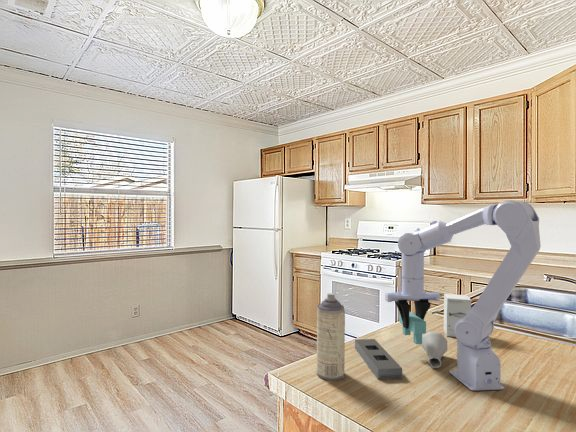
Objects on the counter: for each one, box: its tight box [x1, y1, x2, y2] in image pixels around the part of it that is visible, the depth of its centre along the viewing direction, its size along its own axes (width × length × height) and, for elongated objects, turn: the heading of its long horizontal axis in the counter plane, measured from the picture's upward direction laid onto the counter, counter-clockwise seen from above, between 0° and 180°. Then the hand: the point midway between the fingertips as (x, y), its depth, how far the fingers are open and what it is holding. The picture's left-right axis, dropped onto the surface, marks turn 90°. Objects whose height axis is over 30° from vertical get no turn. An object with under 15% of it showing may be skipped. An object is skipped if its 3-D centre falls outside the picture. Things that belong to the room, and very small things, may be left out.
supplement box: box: [443, 293, 472, 338], centre depth 119 cm, size 7×7×13 cm
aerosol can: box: [316, 292, 346, 381], centre depth 89 cm, size 7×7×20 cm
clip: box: [398, 311, 427, 345], centre depth 98 cm, size 10×3×6 cm, turn 5°
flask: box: [420, 331, 448, 369], centre depth 97 cm, size 7×7×10 cm
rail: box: [354, 338, 403, 380], centre depth 97 cm, size 20×6×2 cm, turn 5°
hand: (412, 327), depth 98 cm, fingers closed on clip, 3 cm apart
